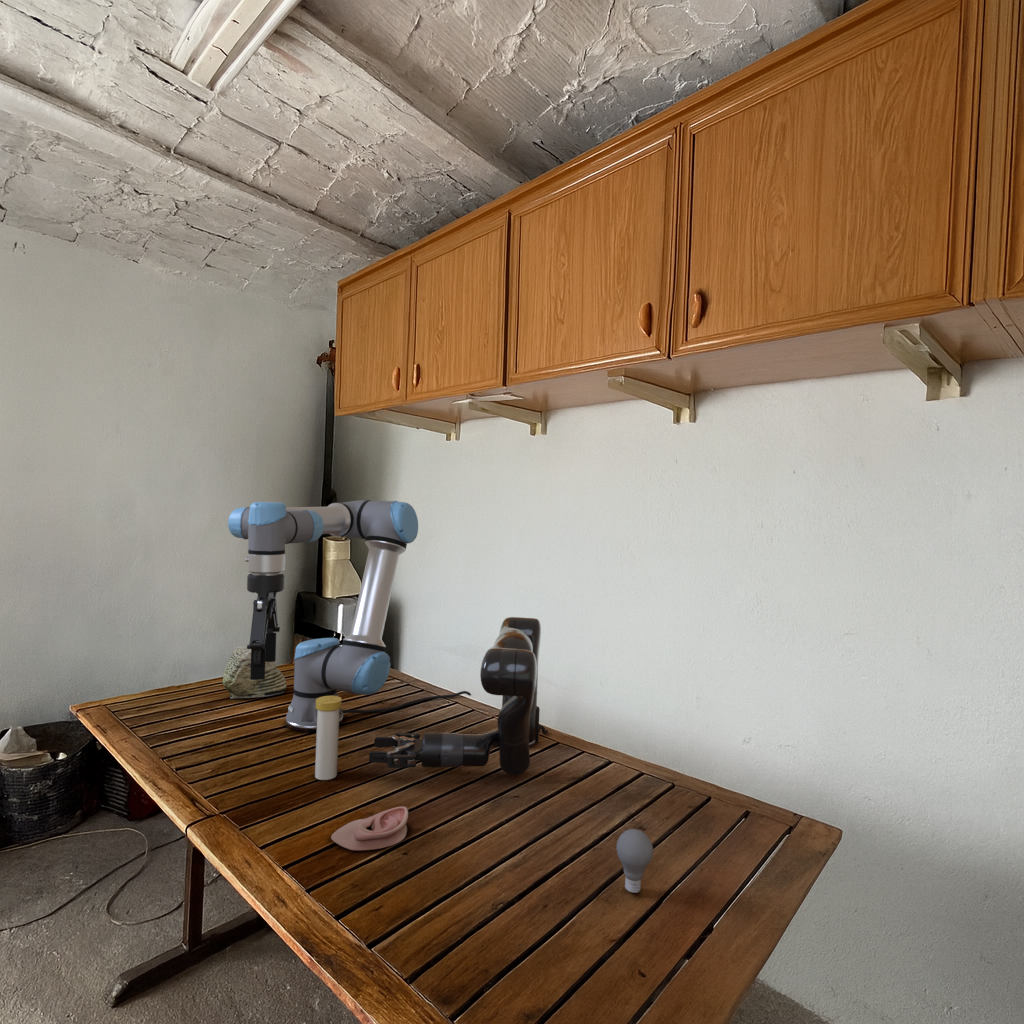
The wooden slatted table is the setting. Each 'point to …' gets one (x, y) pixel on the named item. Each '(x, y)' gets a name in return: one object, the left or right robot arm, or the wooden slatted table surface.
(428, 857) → the wooden slatted table surface
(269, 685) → the fossil
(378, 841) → the anatomical model
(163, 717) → the wooden slatted table surface
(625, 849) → the light bulb
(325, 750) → the jar
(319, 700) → the lid
